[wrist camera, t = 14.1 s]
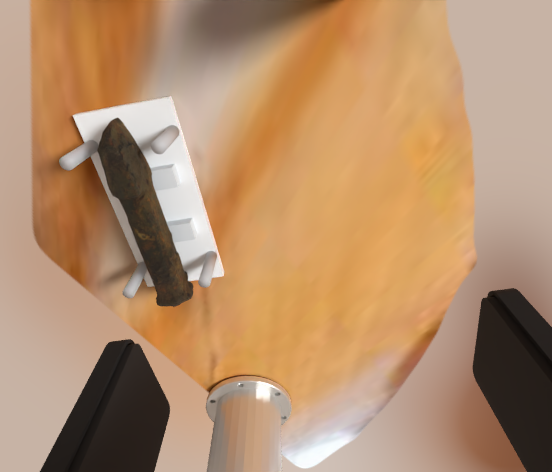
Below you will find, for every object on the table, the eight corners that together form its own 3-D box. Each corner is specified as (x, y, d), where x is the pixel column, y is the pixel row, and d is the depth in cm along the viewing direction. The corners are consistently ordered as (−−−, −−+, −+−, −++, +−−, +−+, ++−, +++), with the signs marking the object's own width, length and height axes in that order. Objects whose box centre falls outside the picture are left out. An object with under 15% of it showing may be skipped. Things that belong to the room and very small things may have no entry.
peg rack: (224, 272, 43) (217, 304, 38) (149, 282, 44) (133, 316, 39) (171, 95, 34) (153, 108, 29) (76, 113, 34) (42, 129, 29)
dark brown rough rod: (197, 283, 42) (189, 311, 38) (163, 287, 42) (151, 315, 38) (150, 112, 33) (133, 125, 28) (106, 118, 33) (82, 131, 29)
